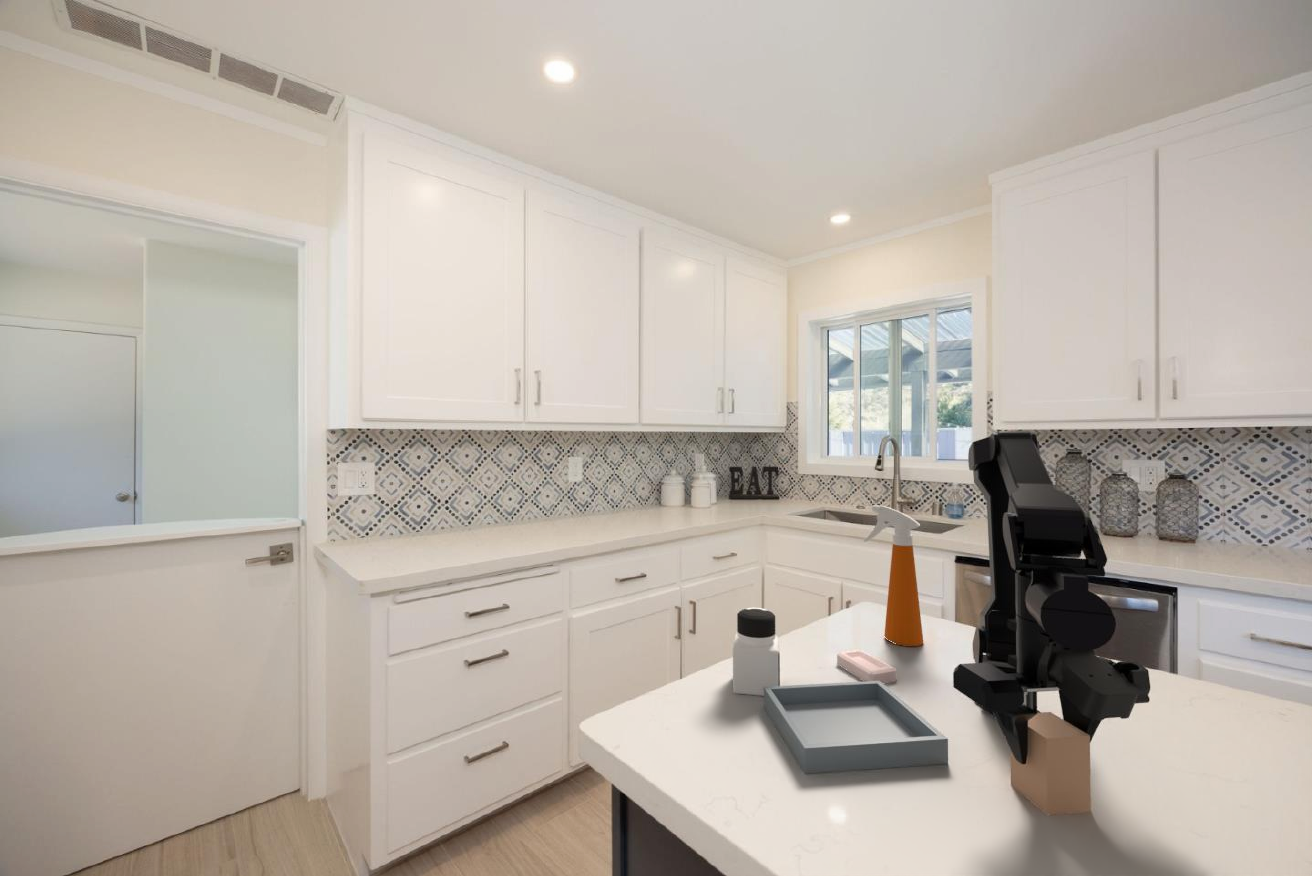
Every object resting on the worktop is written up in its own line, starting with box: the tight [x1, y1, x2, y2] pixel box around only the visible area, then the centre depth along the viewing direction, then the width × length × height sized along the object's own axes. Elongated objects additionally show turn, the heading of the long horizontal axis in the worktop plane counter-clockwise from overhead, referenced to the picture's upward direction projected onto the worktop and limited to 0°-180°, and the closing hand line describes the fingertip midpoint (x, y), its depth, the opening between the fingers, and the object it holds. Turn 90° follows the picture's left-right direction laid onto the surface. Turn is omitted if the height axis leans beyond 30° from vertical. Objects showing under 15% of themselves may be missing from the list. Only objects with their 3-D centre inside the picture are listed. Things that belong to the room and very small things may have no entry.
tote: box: [763, 681, 949, 775], centre depth 72 cm, size 18×16×3 cm
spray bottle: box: [863, 504, 924, 647], centre depth 107 cm, size 7×11×26 cm, turn 55°
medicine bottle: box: [732, 607, 781, 697], centre depth 86 cm, size 7×7×12 cm
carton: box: [1009, 711, 1092, 816], centre depth 59 cm, size 5×5×8 cm
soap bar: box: [836, 649, 897, 684], centre depth 91 cm, size 5×9×2 cm, turn 18°
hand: (1048, 760), depth 59 cm, fingers open, 6 cm apart
